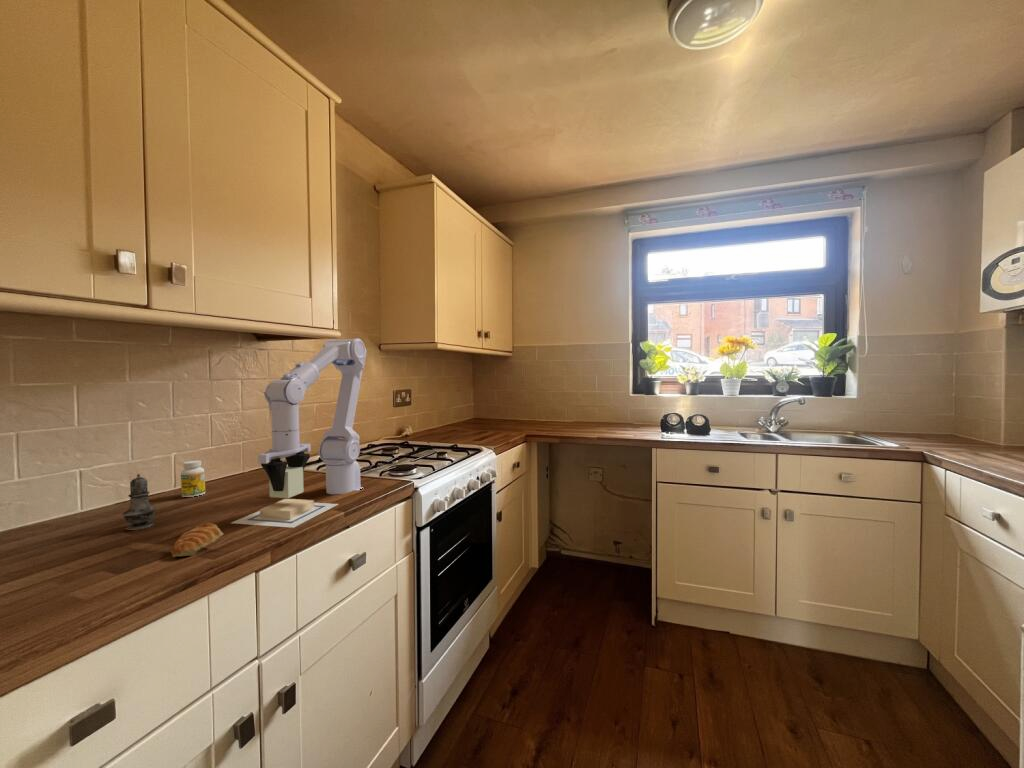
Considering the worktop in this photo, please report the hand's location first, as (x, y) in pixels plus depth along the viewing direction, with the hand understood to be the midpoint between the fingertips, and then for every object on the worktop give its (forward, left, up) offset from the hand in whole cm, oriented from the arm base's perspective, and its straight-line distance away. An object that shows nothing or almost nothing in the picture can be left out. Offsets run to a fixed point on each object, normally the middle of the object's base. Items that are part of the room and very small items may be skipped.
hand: (287, 487), depth 98 cm
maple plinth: (0, 0, -6) cm, 6 cm away
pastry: (+18, -5, -8) cm, 20 cm away
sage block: (0, 0, -2) cm, 2 cm away
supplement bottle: (-11, -40, -7) cm, 42 cm away
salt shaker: (+11, -29, -7) cm, 32 cm away
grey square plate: (0, 0, -7) cm, 7 cm away
